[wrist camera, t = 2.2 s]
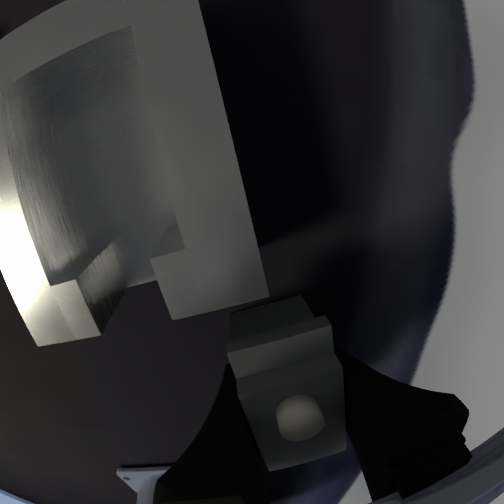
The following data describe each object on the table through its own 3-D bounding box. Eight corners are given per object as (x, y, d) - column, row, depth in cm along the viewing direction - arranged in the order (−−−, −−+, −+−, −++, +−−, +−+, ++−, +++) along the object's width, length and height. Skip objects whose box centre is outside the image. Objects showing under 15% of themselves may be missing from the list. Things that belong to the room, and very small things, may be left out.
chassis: (252, 250, 12) (269, 296, 8) (77, 295, 12) (37, 346, 8) (194, 11, 9) (187, -42, 5) (18, 83, 9) (-38, 70, 5)
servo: (317, 396, 15) (351, 479, 10) (261, 411, 15) (279, 500, 10) (297, 272, 13) (351, 356, 7) (222, 291, 13) (229, 389, 7)
